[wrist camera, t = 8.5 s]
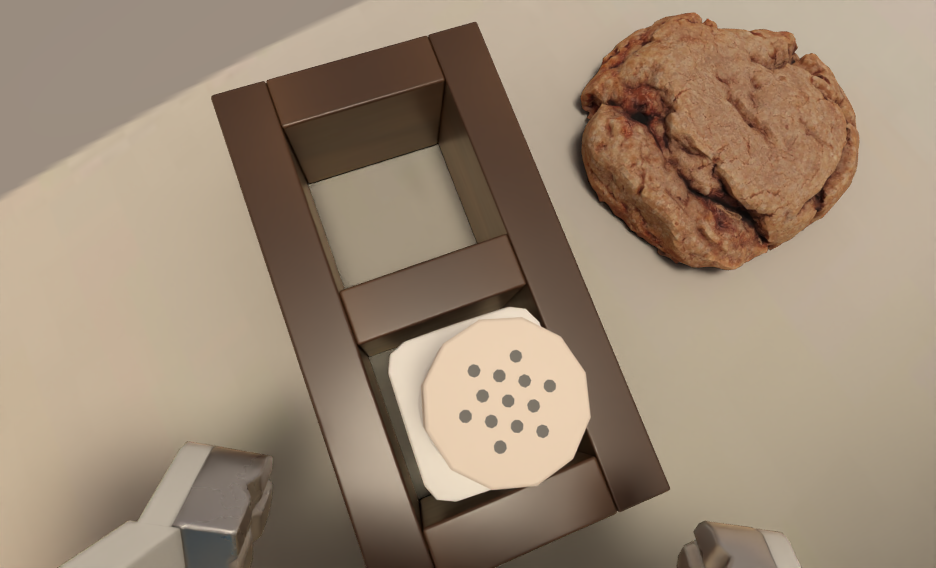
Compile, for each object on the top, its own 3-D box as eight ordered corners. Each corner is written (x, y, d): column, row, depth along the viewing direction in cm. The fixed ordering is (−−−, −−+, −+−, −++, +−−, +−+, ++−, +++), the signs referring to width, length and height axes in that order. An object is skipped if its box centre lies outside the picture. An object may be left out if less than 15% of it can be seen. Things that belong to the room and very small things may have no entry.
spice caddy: (463, 94, 22) (476, 20, 18) (614, 470, 20) (671, 490, 16) (250, 158, 21) (209, 94, 17) (388, 567, 19) (382, 618, 14)
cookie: (869, 225, 23) (937, 199, 20) (627, 306, 21) (663, 291, 18) (769, 7, 25) (818, -47, 22) (536, 66, 23) (555, 17, 20)
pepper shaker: (496, 327, 21) (568, 268, 11) (535, 436, 20) (644, 468, 11) (388, 363, 20) (371, 332, 11) (425, 478, 19) (440, 549, 10)
